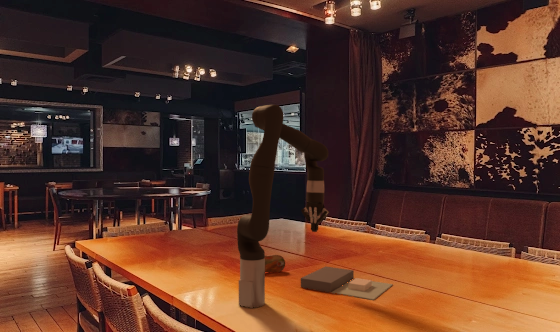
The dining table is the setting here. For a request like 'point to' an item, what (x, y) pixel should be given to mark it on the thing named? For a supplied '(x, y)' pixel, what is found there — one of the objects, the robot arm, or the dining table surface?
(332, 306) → the dining table surface
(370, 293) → the mat
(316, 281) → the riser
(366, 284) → the tile
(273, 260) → the tin
